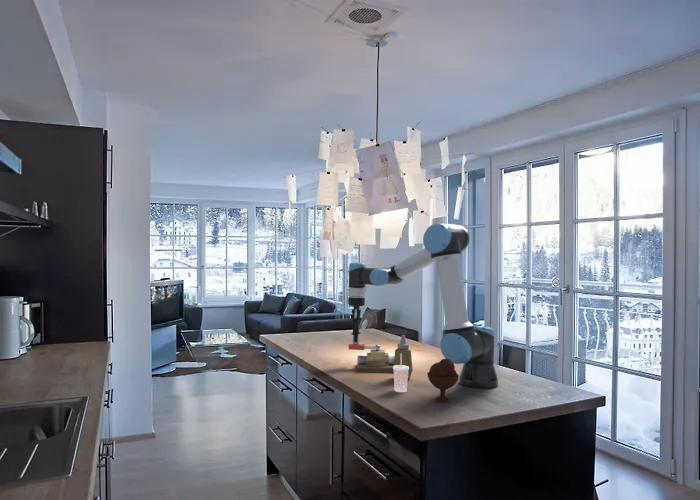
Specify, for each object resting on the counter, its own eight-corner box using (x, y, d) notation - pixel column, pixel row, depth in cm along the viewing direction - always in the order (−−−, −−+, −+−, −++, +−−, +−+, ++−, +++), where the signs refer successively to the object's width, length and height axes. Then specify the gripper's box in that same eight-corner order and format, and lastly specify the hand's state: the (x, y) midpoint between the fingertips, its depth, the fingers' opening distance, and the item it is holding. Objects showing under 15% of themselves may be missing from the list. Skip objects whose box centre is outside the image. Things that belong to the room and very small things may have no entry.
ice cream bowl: (453, 396, 188) (454, 355, 188) (461, 405, 176) (462, 361, 176) (424, 396, 187) (425, 355, 187) (430, 405, 176) (431, 361, 176)
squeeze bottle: (396, 381, 207) (397, 337, 207) (390, 376, 215) (390, 333, 215) (415, 380, 209) (416, 336, 209) (408, 375, 217) (408, 333, 217)
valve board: (398, 372, 222) (398, 354, 222) (357, 371, 223) (357, 353, 223) (396, 365, 236) (397, 348, 236) (357, 364, 237) (357, 347, 237)
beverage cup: (408, 393, 191) (408, 355, 191) (391, 392, 192) (392, 354, 192) (409, 388, 197) (409, 352, 197) (393, 387, 198) (393, 351, 198)
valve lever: (380, 349, 231) (380, 344, 231) (379, 351, 228) (380, 345, 228) (349, 348, 233) (349, 343, 233) (348, 349, 230) (348, 344, 230)
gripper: (349, 295, 240) (348, 345, 240) (347, 298, 227) (346, 351, 227) (365, 295, 239) (364, 346, 239) (364, 298, 226) (363, 351, 227)
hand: (355, 348), depth 233 cm, fingers closed
